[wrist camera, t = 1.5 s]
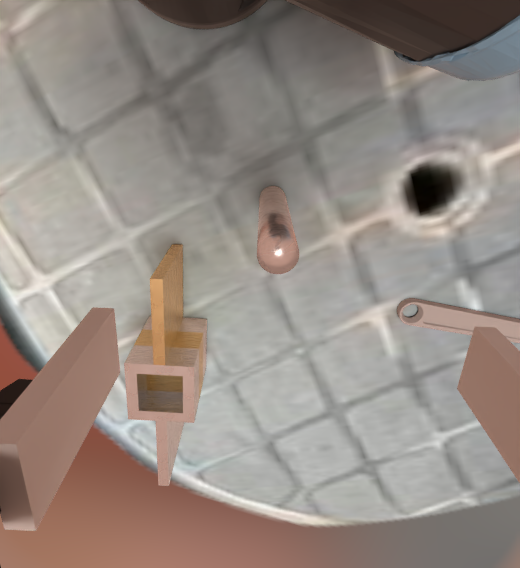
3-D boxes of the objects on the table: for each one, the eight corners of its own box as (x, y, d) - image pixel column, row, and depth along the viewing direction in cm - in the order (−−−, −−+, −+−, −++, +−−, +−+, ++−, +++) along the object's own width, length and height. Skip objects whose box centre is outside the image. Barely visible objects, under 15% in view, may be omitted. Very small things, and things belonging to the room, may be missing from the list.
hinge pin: (260, 185, 40) (258, 233, 25) (287, 186, 40) (301, 235, 25) (258, 211, 41) (255, 272, 26) (284, 213, 41) (297, 275, 26)
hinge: (146, 242, 42) (118, 276, 34) (208, 246, 42) (194, 281, 34) (154, 421, 50) (133, 484, 42) (205, 424, 51) (194, 487, 42)
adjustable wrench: (390, 316, 46) (395, 324, 44) (415, 261, 43) (420, 267, 42) (601, 370, 48) (613, 380, 46) (635, 321, 45) (649, 329, 44)
